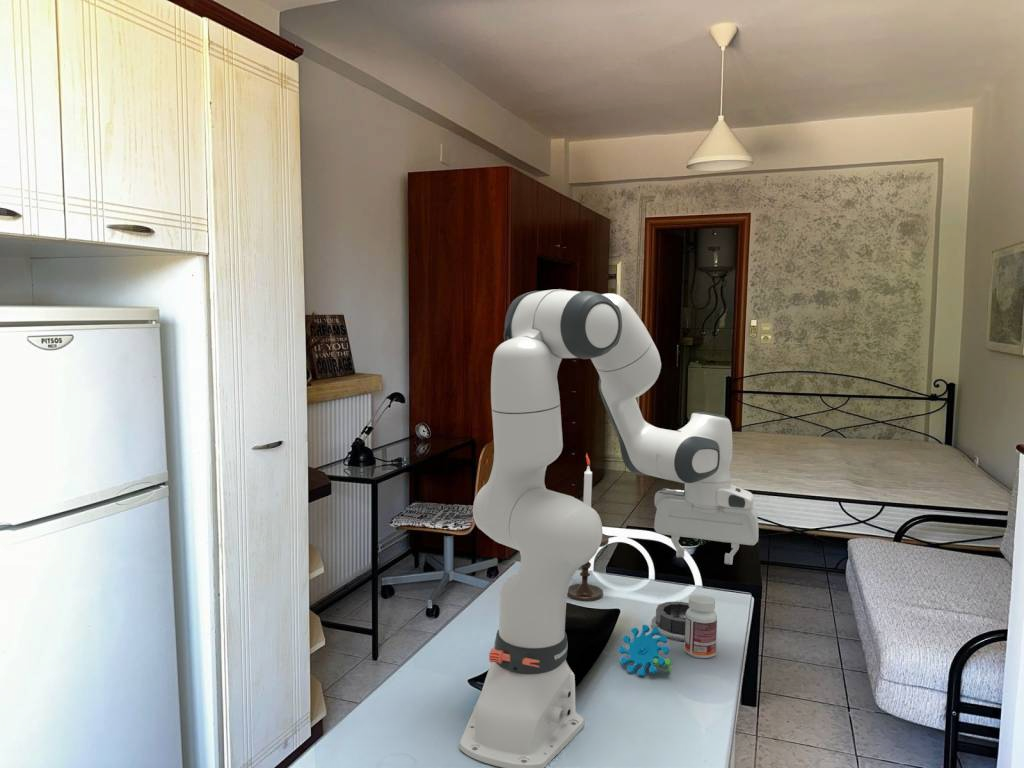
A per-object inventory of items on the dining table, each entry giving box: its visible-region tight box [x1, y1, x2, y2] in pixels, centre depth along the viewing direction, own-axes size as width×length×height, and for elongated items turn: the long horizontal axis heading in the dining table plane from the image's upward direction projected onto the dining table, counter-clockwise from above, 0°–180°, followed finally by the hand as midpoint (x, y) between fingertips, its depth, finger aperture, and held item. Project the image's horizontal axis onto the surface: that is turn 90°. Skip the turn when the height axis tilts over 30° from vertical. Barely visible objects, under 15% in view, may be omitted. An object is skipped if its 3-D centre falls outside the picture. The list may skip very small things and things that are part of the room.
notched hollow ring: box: [651, 600, 690, 643], centre depth 157 cm, size 13×13×4 cm
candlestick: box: [567, 452, 610, 602], centre depth 175 cm, size 11×11×35 cm
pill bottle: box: [684, 593, 718, 659], centre depth 146 cm, size 6×6×11 cm
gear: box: [618, 624, 673, 677], centre depth 139 cm, size 11×6×10 cm
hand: (704, 560), depth 145 cm, fingers open, 8 cm apart
